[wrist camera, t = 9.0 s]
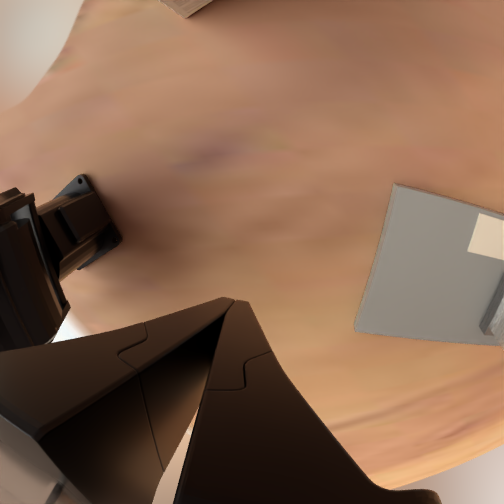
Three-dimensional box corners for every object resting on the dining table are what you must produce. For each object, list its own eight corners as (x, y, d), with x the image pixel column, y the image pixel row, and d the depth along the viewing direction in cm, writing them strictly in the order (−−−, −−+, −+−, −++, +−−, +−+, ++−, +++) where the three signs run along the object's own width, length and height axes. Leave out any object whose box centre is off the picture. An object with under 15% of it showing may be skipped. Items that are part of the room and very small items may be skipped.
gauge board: (353, 323, 23) (359, 362, 19) (393, 182, 18) (414, 200, 14) (520, 340, 21) (538, 369, 17) (566, 237, 16) (595, 259, 12)
